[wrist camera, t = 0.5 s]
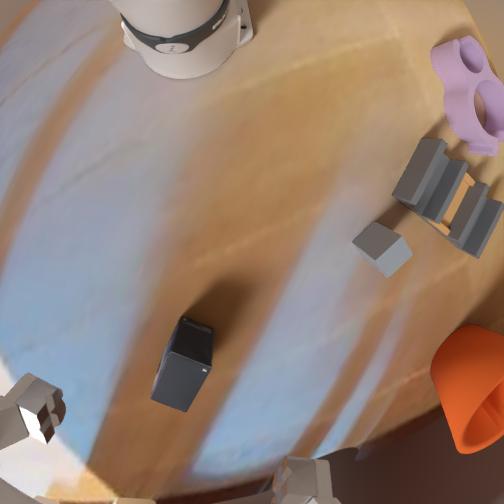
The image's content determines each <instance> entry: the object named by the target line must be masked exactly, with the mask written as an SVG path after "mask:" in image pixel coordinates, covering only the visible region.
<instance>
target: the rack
mask: <svg viewBox="0 0 504 504" xmlns="http://www.w3.org/2000/svg"><path fill="white" fill-rule="evenodd" d="M446 146H447V143H446V142H445V141H444V140H443V139H421V140H420V142H419V144H418V146H417V148H416V150H415V152H414V154H413V156H412V158H411V160H410V162H409V164H408V166H407V167H406V169H405V171H404V173H403V175H402V177H401V179H400V180H399V182H398V184H397V186H396V188H395V190H394V191H393V193H392V196H394V197H395V198H396V199H398V200H399V201H400V202H402V203H403V204H404V205H405V206H407V207H408V208H409V209H411V210H412V211H413V212H415V213H416V214H417V215H418V216H420V217H421V218H422V219H423V220H425V221H426V222H427V223H428V224H430V225H431V226H432V227H433V228H435V229H436V230H437V231H438V232H439V233H441V234H442V235H443V236H444V237H445V238H447V239H448V240H449V241H450V242H451V243H453V244H454V245H455V246H456V247H457V248H458V249H460V250H462V251H464V252H466V253H468V254H469V255H471V256H473V257H475V258H477V259H479V257H480V255H481V254H482V252H483V250H484V248H485V246H486V244H487V242H488V240H489V238H490V236H491V234H492V232H493V230H494V228H495V226H496V224H497V222H498V220H499V218H500V216H501V214H502V211H503V209H504V204H503V203H502V202H500V201H496V200H493V199H489V198H487V197H486V195H487V193H488V191H489V189H490V188H489V186H488V185H487V184H484V183H480V182H475V181H474V180H473V179H472V178H471V177H470V176H469V174H468V173H467V172H466V171H467V169H468V167H469V165H468V164H467V163H466V162H465V161H461V160H453V159H449V158H448V157H447V156H446V155H445V154H444V153H443V152H444V150H445V148H446Z"/></svg>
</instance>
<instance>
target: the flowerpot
mask: <svg viewBox="0 0 504 504" xmlns="http://www.w3.org/2000/svg"><path fill="white" fill-rule="evenodd" d="M430 374H431V377H432V380H433V382H434V385H435V388H436V390H437V393H438V395H439V398H440V401H441V404H442V406H443V409H444V412H445V415H446V418H447V420H448V423H449V426H450V429H451V432H452V435H453V438H454V441H455V444H456V447H457V450H458V451H459V452H460V453H463V454H470V453H473V452H477V451H479V450H481V449H483V448H485V447H487V446H489V445H490V444H492V443H493V442H495V441H496V440H498V439H499V438H500V437H502V436H503V435H504V336H503V335H501V334H498V333H496V332H493V331H490V330H488V329H485V328H483V327H480V326H478V325H474V324H470V325H466V326H463V327H461V328H459V329H457V330H456V331H455V332H453V333H452V334H451V335H450V336H449V337H448V338H447V339H446V340H445V341H444V342H443V343H442V344H441V346H440V347H439V349H438V350H437V352H436V354H435V356H434V358H433V360H432V363H431V368H430Z"/></svg>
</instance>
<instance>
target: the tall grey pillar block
mask: <svg viewBox="0 0 504 504" xmlns="http://www.w3.org/2000/svg"><path fill="white" fill-rule="evenodd" d="M352 243H353V244H354V246H355V247H356V248H357V250H358V251H359V252H360V254H361V255H362V256H363V258H365V259H366V260H367V261H368V262H369V263H370V264H372V265H373V266H374V267H375V268H376V269H378V270H379V271H380V272H381V273H382V274H383V275H385V276H386V277H387V278H389V277H390V276H391V275H392V274H393V273H394V272H395V271H396V270H397V269H398V268H399V267H400V266H402V265H403V264H404V263H405V262H406V261H407V260H408V259H409V258H410V257H411V256H412V255H413V253H412V251H411V250H410V248H409V246H408V245H407V243H406V242H405V240H404V239H403V237H402V236H401V235H399V234H397V233H395V232H394V231H392V230H390V229H388V228H386V227H384V226H383V225H381V224H379V223H377V222H375V221H374V222H373V223H372V224H371V225H370V226H369V227H368V228H367V229H366V230H364V231H363V232H362V233H361V234H360V235H359V236H358V237H357V238H356V239H354V240H353V241H352Z"/></svg>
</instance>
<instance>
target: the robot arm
mask: <svg viewBox="0 0 504 504" xmlns="http://www.w3.org/2000/svg"><path fill="white" fill-rule="evenodd" d="M108 1H109V2H110V3H111V4H112V5H113V6H114V7H115V8H116V9H117V10H118V11H119V12H120V14H121V17H122V19H123V21H122V28H123V29H124V31H125V35H124V42H125V44H126V45H127V46H128V47H130V48H131V49H133V50H135V51H137V52H138V53H139V54H140V55H141V57H142V58H143V60H144V61H145V63H146V64H147V65H148V66H149V67H150V68H151V69H152V70H154V71H155V72H157V73H159V74H161V75H163V76H166V77H169V78H175V79H189V78H195V77H199V76H202V75H205V74H207V73H209V72H211V71H213V70H215V69H216V68H218V67H219V66H220V65H221V64H223V63H224V62H225V61H226V60H227V59H228V57H229V56H230V55H231V54H232V52H233V51H234V50H236V49H237V48H239V47H241V46H243V45H245V44H247V43H248V42H250V41H251V40H252V38H253V29H252V24H251V18H250V13H249V8H248V3H247V0H108ZM242 26H245V27H246V29H241V27H242ZM62 397H63V393H62V390H61V389H59V388H57V387H55V386H53V385H51V384H50V383H48V382H46V381H44V380H42V379H40V378H38V377H36V376H35V375H33V374H31V373H26V374H25V375H24V376H23V377H22V378H21V379H20V380H19V381H18V382H17V383H16V384H15V385H14V387H13V388H12V389H11V390H10V391H9V392H8V393H7V394H6V395H5V397H3V396H2V395H1V396H0V450H1V449H3V448H6V447H8V446H10V445H12V444H14V443H16V442H18V441H20V440H22V439H25V438H27V437H29V435H30V436H32V437H34V438H35V439H37V440H39V441H41V442H43V443H45V444H48V442H49V441H50V439H51V438H52V436H53V435H54V433H55V431H54V427H56V426H59V425H60V424H61V423H62V421H63V419H64V416H65V413H66V406H65V403H64V402H63V400H62V399H61V398H62ZM272 490H273V491H274V492H275V496H274V497H273V499H272V504H341V503H340V502H339V501H338V499H337V498H333V497H332V486H331V476H330V467H329V462H328V461H326V460H316V459H310V458H300V457H291V456H285V457H284V459H283V460H282V466H280V467H278V469H277V471H276V473H275V476H274V479H273V489H272ZM0 504H41V503H40V502H38V501H36V500H35V499H33V498H31V497H29V496H28V495H26V494H25V493H23V492H21V491H20V490H18V489H17V488H15V487H13V486H12V485H10V484H9V483H7V482H6V481H4V480H3V479H2V478H0Z"/></svg>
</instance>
